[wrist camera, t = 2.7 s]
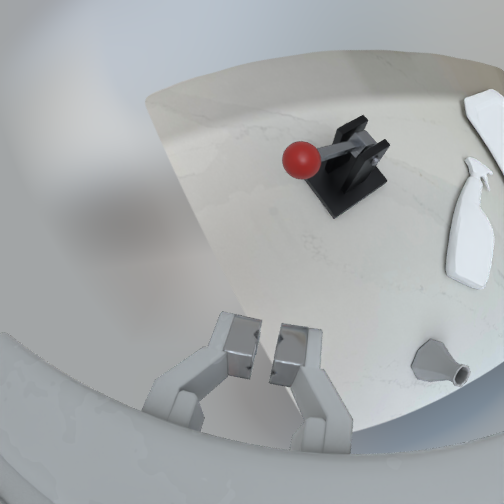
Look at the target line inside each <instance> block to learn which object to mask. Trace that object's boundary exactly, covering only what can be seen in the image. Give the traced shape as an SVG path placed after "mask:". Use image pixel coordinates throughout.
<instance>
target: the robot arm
mask: <svg viewBox="0 0 504 504" xmlns="http://www.w3.org/2000/svg"><path fill="white" fill-rule="evenodd" d="M261 326H262V320H260V319H255V318H251V317H246V316H242V315H237V314H233V313H228V312H224V311H222V312H221V314H220V315H219V318H218V321H217V323H216V326H215V329H214V331H213V334H212V337H211V339H210V342H209V345H208V347H205V346H204V347H202V348H201V349H199V350H198V351H196V352H195V353H194V354H192V355H191V356H189V357H188V358H186V359H185V360H183V361H182V362H180V363H179V364H178V365H176V366H175V367H173V368H172V369H170V370H169V371H167V372H166V373H165V374H163V375H161V376H160V377H158V378H157V379H155V381H154V383H153V386H152V388H151V390H150V393H149V395H148V397H147V399H146V401H145V404H144V406H143V408H142V411H139V410H137V409H135V408H132V407H130V406H128V405H125V404H123V403H121V402H119V401H117V400H114V399H112V398H110V397H108V396H106V395H104V394H102V393H100V392H98V391H96V390H94V389H92V388H90V387H89V386H87V385H85V384H83V383H81V382H79V381H78V380H76V379H74V378H72V377H70V376H69V375H67V374H66V373H64V372H62V371H60V370H59V369H58V368H56V367H54V366H53V365H51V364H50V363H48V362H46V361H45V360H44V359H42V358H41V357H39V356H38V355H36V354H35V353H33V352H32V351H31V350H29V349H28V348H26V347H25V346H24V345H22V344H21V343H20V342H18V341H17V340H16V339H15V338H13V337H12V336H11V335H9V334H8V333H5V332H2V333H0V504H504V431H503V432H500V433H497V434H494V435H491V436H487V437H484V438H480V439H476V440H472V441H468V442H464V443H460V444H455V445H450V446H444V447H439V448H433V449H426V450H419V451H410V452H399V453H384V454H350V451H351V441H352V428H353V418H352V417H351V415H350V413H349V412H348V410H347V408H346V406H345V405H344V403H343V401H342V399H341V398H340V396H339V394H338V392H337V391H336V389H335V387H334V386H333V384H332V382H331V380H330V379H329V377H328V375H327V373H326V372H325V370H324V369H320V364H321V350H322V333H323V332H322V330H321V329H315V328H308V327H304V326H297V325H291V324H284V323H281V327H280V332H279V336H278V341H277V345H276V350H275V355H274V361H273V366H272V370H271V375H270V381H269V383H271V384H276V385H281V386H286V387H291V391H292V393H293V395H294V398H295V400H296V403H297V405H298V407H299V410H300V412H301V414H302V417H303V419H304V421H305V422H304V423H303V424H302V425H301V426H300V427H299V428H298V430H297V431H296V432H295V433H294V434H293V435H292V439H291V444H290V450H285V449H277V448H271V447H265V446H259V445H254V444H248V443H243V442H239V441H235V440H230V439H226V438H221V437H217V436H214V435H210V434H207V433H203V432H201V428H202V425H203V422H204V419H205V417H204V414H203V412H202V409H201V406H200V403H199V401H201V400H202V399H203V398H204V397H205V396H206V395H207V394H209V393H210V392H211V391H212V390H213V389H214V388H215V387H217V386H218V385H219V384H220V383H221V382H222V381H223V380H224V379H226V378H227V377H228V375H230V376H235V377H240V378H245V379H250V377H251V373H252V369H253V365H254V358H255V355H256V353H257V349H258V344H259V339H260V333H261V332H260V330H261Z"/></svg>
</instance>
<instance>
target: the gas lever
mask: <svg viewBox="0 0 504 504" xmlns="http://www.w3.org/2000/svg"><path fill="white" fill-rule="evenodd" d="M376 144H377V143H376V141H375V140H374V139H373V138H372V137H371V136H370V135H369V133H368V132H367V131H366V130H364V131H359V132H354V134H353V135H352V136H351V137H350V138H349V139H348V141H346V142H341V143H337V144H333V145H329V146H325V147H321V148H317V149H316V147H315V146H313V145H312V144H310V143H308V142H303V141H299V142H295V143H292V144H291V145H289V146H288V147H287V148H286V150H285V151H284V153H283V157H282V162H283V166H284V169H285V170H286V172H287V173H288V174H289V175H290V176H292V177H294V178H296V179H308V178H311V177H313V176H314V175H315V174H316V173H317V172H318V170H319V168H320V166H321V162H322V161H325V160H328V159H331V158H334V157H338V156H341V155H344V154H348V153H352V155H353V156H354V157H355V158H357V157H359V155H360V154H361V153H363V152H364V151H366V150H368V149H369V148H371V147H372V146H374V145H376Z"/></svg>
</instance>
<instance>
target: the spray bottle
mask: <svg viewBox="0 0 504 504" xmlns="http://www.w3.org/2000/svg"><path fill="white" fill-rule="evenodd" d="M465 162H466V164H467V165H468V168H469V173H470V177H469V178H468V179H467V181H466V183H465V185H464V187H463V189H462V191H461V194H460V196H459V199H458V201H457V203H456V207H455V211H454V214H453V219H452V225H451V230H450V236H449V243H448V250H447V258H446V273H447V276H448V277H450V278H452V279H454V280H456V281H458V282H460V283H462V284H464V285H466V286H468V287H471V288H475V289H483V288H484V287H485V285H486V283H487V280H488V278H489V273H490V269H491V264H492V258H493V251H494V239H495V238H494V233H493V228H492V226H491V224H490V222H489V220H488V218H487V216H486V215H485V213H484V212H483V211H482V209H481V206H480V203H481V199H480V198H481V194H482V193H481V189H482V187H483V184H482V182H481V177H482V178H483V179H484V182H485V184H486V186H487V189H488V191H490V187H489V183H488V179H487V174H489V175H492V174H493V172H492V171H491V170H490V169H489V168H488V167H487V166H485V165H484V164H482V163H481V162H479V161H478V160H476V159H475V158H473V157H470V158H467V159H466V160H465Z"/></svg>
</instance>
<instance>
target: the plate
mask: <svg viewBox="0 0 504 504" xmlns="http://www.w3.org/2000/svg"><path fill="white" fill-rule="evenodd" d="M464 105H465V111H466V116H467V118H468V119H469V121H470V122H471V123H472V125H473V126H474V128H475V129H476V130H477V132H478V133H479V135H480V136H481V138H482V139H483V141H484V142H485V144H486V146H487V147H488V149H489V150H490V152H491V154H492V155H493V157H494V159H495V160H496V162H497V164H498V166H499V167H500V169H501V171H502V173H503V175H504V97H503V96H502V95H501V94H499V93H498V92H496V91H495V90H493V89H489V90H487V91H484V92H481V93H478V94H475V95H473V96H470V97H467V98H465V99H464Z"/></svg>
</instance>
